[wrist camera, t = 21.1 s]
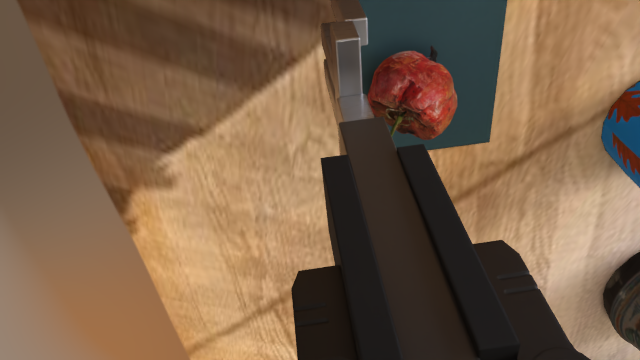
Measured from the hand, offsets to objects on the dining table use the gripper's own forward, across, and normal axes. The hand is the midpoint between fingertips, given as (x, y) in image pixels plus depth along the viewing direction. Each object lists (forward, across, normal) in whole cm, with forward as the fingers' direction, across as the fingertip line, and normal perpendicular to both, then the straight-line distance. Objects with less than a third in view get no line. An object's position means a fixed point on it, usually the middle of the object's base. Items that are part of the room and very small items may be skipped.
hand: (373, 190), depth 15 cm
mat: (+30, +10, -11) cm, 34 cm away
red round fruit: (+26, +4, -12) cm, 29 cm away
